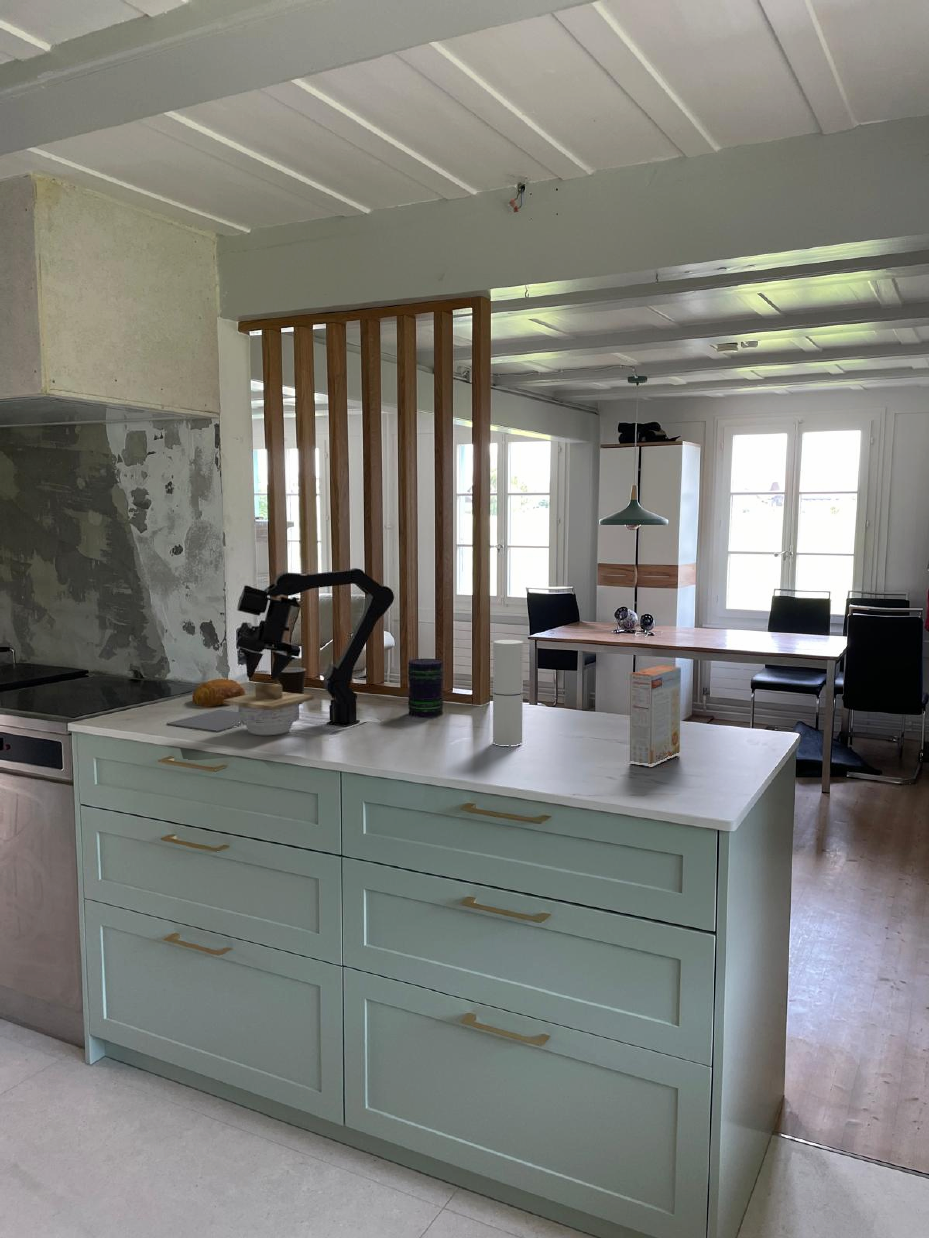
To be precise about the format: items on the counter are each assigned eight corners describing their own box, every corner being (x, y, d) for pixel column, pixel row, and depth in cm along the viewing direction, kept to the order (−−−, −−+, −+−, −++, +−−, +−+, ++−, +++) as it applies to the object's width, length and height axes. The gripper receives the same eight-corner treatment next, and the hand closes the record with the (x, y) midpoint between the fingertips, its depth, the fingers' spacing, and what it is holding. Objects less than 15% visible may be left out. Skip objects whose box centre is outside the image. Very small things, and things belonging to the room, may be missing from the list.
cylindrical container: (497, 747, 222) (498, 644, 219) (489, 741, 228) (489, 640, 226) (526, 746, 223) (527, 643, 221) (516, 739, 230) (517, 639, 228)
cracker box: (657, 752, 218) (659, 664, 216) (680, 756, 214) (683, 666, 212) (627, 764, 207) (629, 671, 205) (651, 768, 203) (653, 674, 201)
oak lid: (313, 699, 240) (313, 682, 240) (272, 710, 226) (271, 692, 226) (266, 693, 248) (265, 677, 247) (223, 703, 234) (222, 686, 234)
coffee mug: (303, 706, 270) (302, 672, 269) (273, 706, 270) (273, 672, 269) (310, 698, 282) (310, 666, 280) (282, 698, 282) (281, 665, 281)
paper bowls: (235, 727, 242) (235, 697, 242) (294, 723, 248) (293, 694, 247) (242, 740, 228) (241, 709, 227) (304, 736, 233) (303, 705, 232)
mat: (269, 717, 255) (269, 716, 254) (217, 732, 237) (217, 730, 237) (219, 711, 263) (219, 709, 263) (166, 724, 246) (166, 723, 245)
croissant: (252, 709, 277) (255, 682, 277) (206, 709, 266) (209, 681, 265) (226, 701, 287) (228, 675, 287) (180, 701, 276) (183, 674, 275)
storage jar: (449, 715, 258) (449, 662, 256) (416, 718, 253) (416, 664, 252) (434, 709, 266) (434, 657, 265) (402, 712, 262) (402, 659, 261)
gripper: (276, 617, 251) (262, 672, 251) (228, 608, 235) (213, 668, 235) (308, 626, 246) (293, 683, 246) (261, 619, 229) (245, 679, 230)
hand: (261, 678), depth 239 cm, fingers open, 9 cm apart
